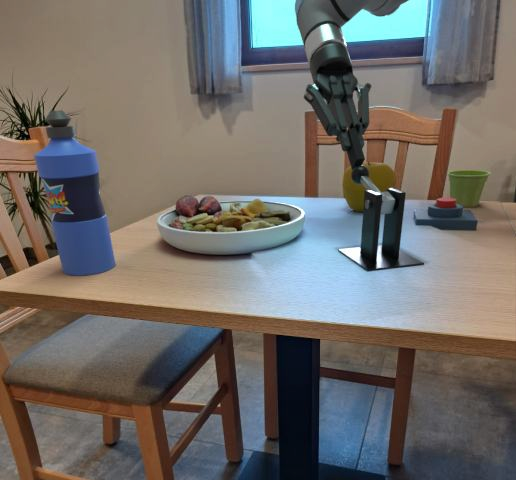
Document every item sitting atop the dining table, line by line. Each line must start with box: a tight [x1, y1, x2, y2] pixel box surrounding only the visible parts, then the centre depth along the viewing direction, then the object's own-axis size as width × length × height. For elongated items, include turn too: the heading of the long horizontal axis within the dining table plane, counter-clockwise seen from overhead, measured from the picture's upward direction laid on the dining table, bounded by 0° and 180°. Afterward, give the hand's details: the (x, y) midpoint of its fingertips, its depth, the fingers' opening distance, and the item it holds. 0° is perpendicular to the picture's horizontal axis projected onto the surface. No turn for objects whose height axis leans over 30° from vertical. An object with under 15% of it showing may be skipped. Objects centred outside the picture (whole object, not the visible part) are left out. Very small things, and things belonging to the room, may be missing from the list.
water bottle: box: [33, 110, 116, 277], centre depth 77 cm, size 9×9×25 cm
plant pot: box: [447, 169, 491, 208], centre depth 111 cm, size 9×9×9 cm
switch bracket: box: [337, 188, 425, 272], centre depth 77 cm, size 12×10×12 cm
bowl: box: [156, 194, 306, 256], centre depth 95 cm, size 30×30×8 cm
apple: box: [341, 161, 397, 213], centre depth 114 cm, size 13×13×11 cm
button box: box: [412, 202, 478, 232], centre depth 100 cm, size 12×10×4 cm
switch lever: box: [351, 165, 395, 215], centre depth 78 cm, size 13×3×3 cm, turn 14°
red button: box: [435, 197, 457, 208], centre depth 99 cm, size 4×4×2 cm
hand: (358, 164), depth 81 cm, fingers closed
